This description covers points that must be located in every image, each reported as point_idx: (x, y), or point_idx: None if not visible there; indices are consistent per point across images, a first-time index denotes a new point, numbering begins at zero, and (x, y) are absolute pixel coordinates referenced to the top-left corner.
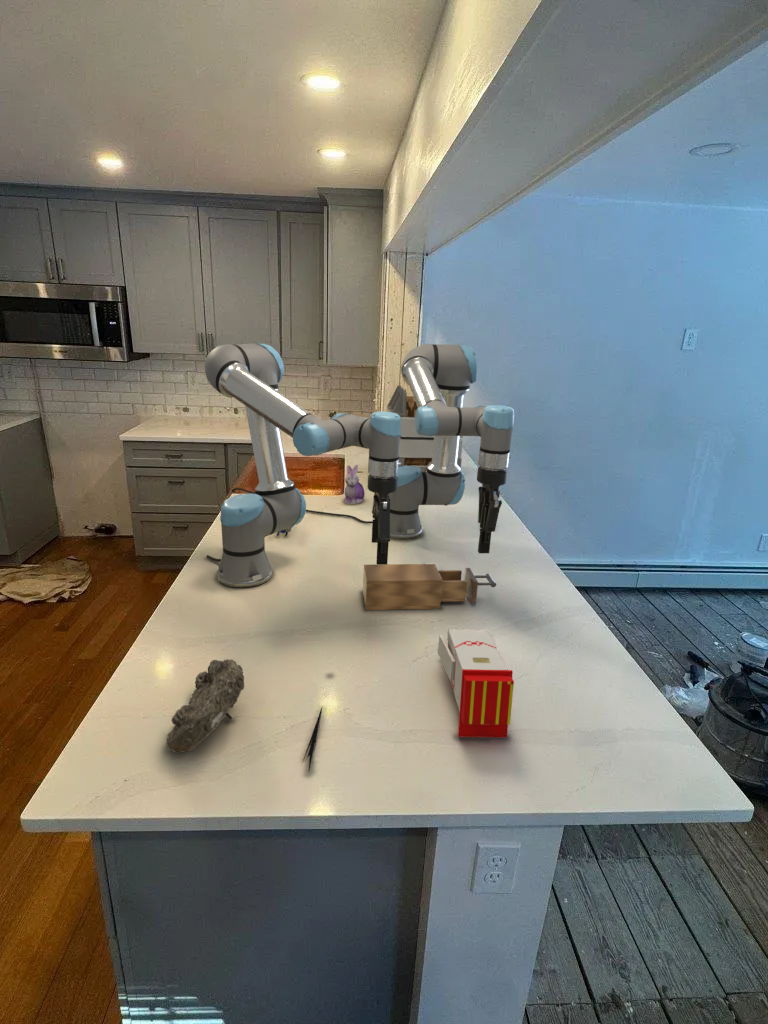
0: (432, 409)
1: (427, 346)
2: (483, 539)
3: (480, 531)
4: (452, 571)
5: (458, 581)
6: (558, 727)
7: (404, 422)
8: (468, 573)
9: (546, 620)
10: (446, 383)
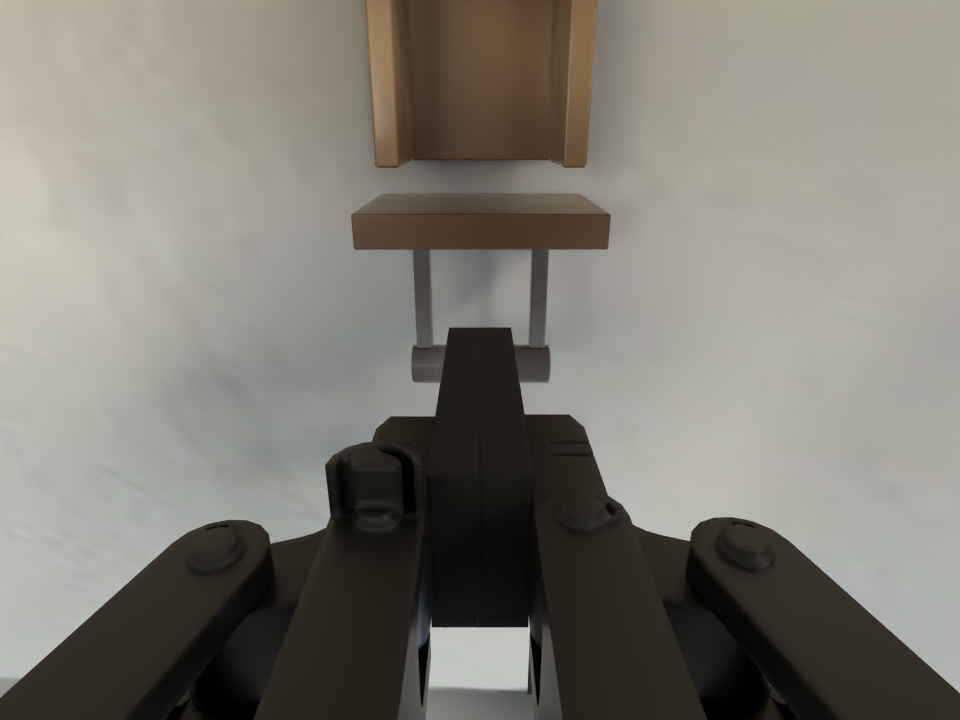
0: None
1: None
2: (428, 435)
3: (361, 445)
4: (567, 78)
5: (372, 86)
6: None
7: None
8: (515, 213)
9: (271, 523)
10: None
